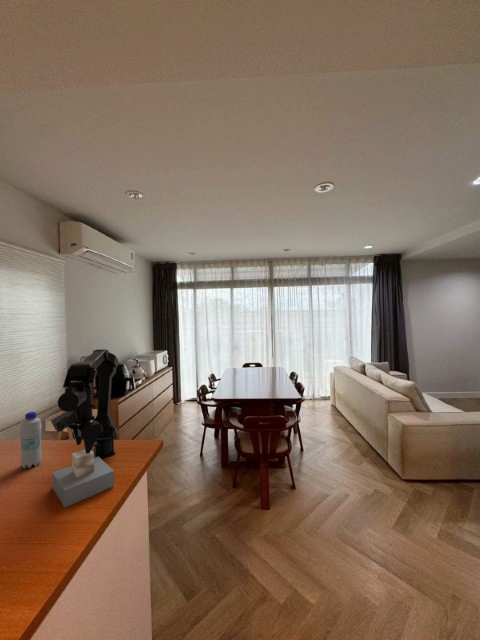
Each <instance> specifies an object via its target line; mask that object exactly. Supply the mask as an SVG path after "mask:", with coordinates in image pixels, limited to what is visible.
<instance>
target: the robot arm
mask: <svg viewBox="0 0 480 640" xmlns="http://www.w3.org/2000/svg"><path fill="white" fill-rule="evenodd" d="M118 366H119V359H118V357H117V356H116V354H113V352H112V353H111V352H110V351H109V350H108V349H105V348H104V349H101V348H100V349H94V350H93V351H92V353H91V354H90V355H88V357H86V358H85V359H83V361H78V362H75V363H72V364H71V365H70V366H69V367H68V369H67V372H66V375H65V379H64V382H63V385H62V388H64V393H62V394H61V395H60V396H59V397H58V400H57V406H58V408H59V409H60V411H63V413H61V414H59V415H58V416H56V417H54V418H52V419H51V420H50V422H51V424H52V427H53V428H54V430H55V431H56V432H57V433H60V432H62V431H64V430H65V429H67V428H69V429H70V430H71V432H72V433H73V436H74V439H75V443H76V445H77V446H80V445H81V444H82V441H83V446H84V449H85V452H86V454H89V453H90V452H91V451H92V452H93V453H94V458H96V457H99V458H101V459H102V460H103V459H105V458H108V457H111V456H114V455H116V451H115V448H114V447H115V446H114V443H115V439H118V429H117V428H116V426H115V420H114V418H113V417H112V415H111V400H112V399H111V397H112V382H113V377H114V375H115V374H116V373H117V368H118ZM96 376H98V378H99V380H98V381H99V382H98V393H97V394H98V397H97V411H96V416H95V415H93V408H95V403H93V385H94V383H95V380H96ZM92 449H93V450H92Z"/></svg>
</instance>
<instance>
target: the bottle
mask: <svg viewBox="0 0 480 640" xmlns="http://www.w3.org/2000/svg"><path fill="white" fill-rule="evenodd" d="M42 427H43V426H42V420H41V418H39V417H37V412H36V411H29V412H26V413H25V416H24V420H23V421H21V423H20V427H19V436H20V450H21V451H20V465H21V467H22V468H23V469H26V468H28V469H30V468H32V466H34V467H37V466H38V465H39V464H40V463H41V462H42V445H41V444H42V443H41V441H42V439H41V438H42V437H41V436H42V435H41V434H42Z"/></svg>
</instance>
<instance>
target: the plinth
mask: <svg viewBox="0 0 480 640" xmlns="http://www.w3.org/2000/svg"><path fill="white" fill-rule="evenodd" d="M113 487H115V470H113V469H112V467H110V466H109V465H108V464H107V463H106V462H105V461H104V460H103V458H102V459H101V458H99V457H94V472H91V473H88V474H86V475H83V476H80V477H78V478H77V477H76V476H75V475H74V474H73V472H72V465H70V466H66V467H64V468H61V469H59V470H56V471H53V472H52V489H53V491H54V493H55V495H56V496H57V498H58V500H59V501H60V503H61V504H62V506H63V508H67V507H69V506H71V505H74V504H76V503H79V502H81V501H83V500H85V499H88V498H90V497H93V496H95V495H97V494H99V493H102V492H104V491H106V490H108V489H110V488H113Z"/></svg>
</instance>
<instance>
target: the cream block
mask: <svg viewBox="0 0 480 640" xmlns="http://www.w3.org/2000/svg"><path fill="white" fill-rule="evenodd" d="M94 458H95V456H94V452H93V450H91V452H90V453H89V454H86V452H85V448H84V449H82V450H78V451H75V452H72V453H71V466H72V472H73V474H74V475H75V476H76V477H77V478H78V477H80V476H83V475H86V474H88V473H91V472H94Z"/></svg>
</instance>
